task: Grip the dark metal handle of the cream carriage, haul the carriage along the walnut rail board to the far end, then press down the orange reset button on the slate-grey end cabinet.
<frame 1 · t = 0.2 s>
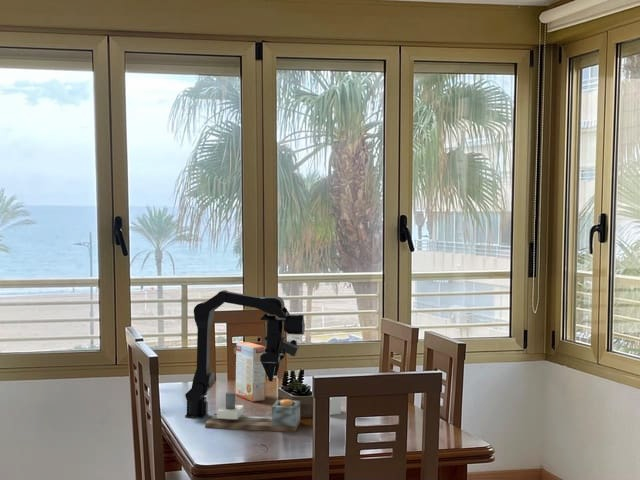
hand: (273, 378, 243), 14 cm above the table, fingers open, 9 cm apart
reset button: (286, 403, 235), point 8 cm above the table, slide at 0.0 cm
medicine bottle: (327, 413, 253), on the table
carriage: (230, 404, 237), point 6 cm above the table, slide at 0.0 cm
cracker box: (250, 398, 274), on the table
rail board: (253, 424, 236), on the table
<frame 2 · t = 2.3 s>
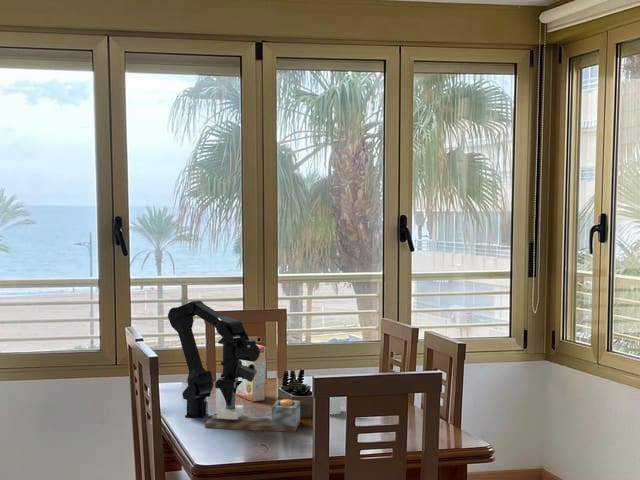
hand: (230, 404, 237), 7 cm above the table, fingers closed on carriage, 3 cm apart
carriage: (230, 404, 237), point 6 cm above the table, slide at 0.0 cm, touching gripper
everything else where it was.
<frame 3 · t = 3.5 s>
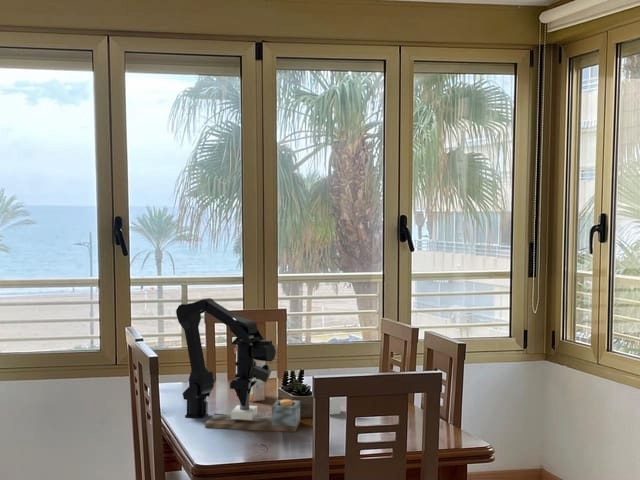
hand: (244, 404, 236), 7 cm above the table, fingers closed on carriage, 3 cm apart
carriage: (244, 404, 236), point 6 cm above the table, slide at 4.9 cm, touching gripper
everything else where it was.
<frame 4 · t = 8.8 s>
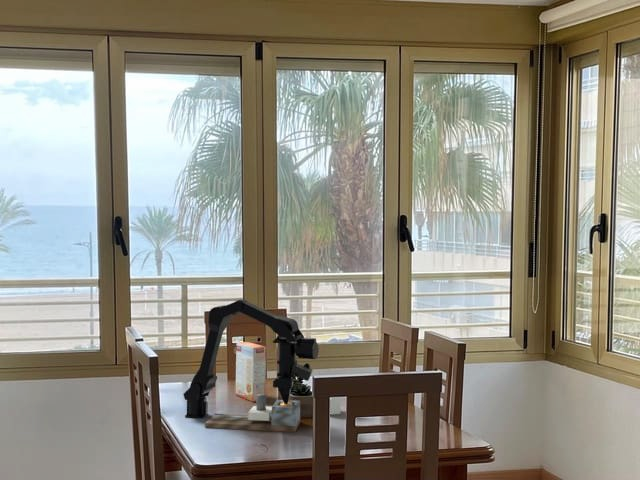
hand: (286, 403, 235), 8 cm above the table, fingers closed, pressing on reset button
reset button: (286, 406, 235), point 7 cm above the table, slide at 0.9 cm, touching gripper
carriage: (261, 405, 236), point 7 cm above the table, slide at 10.5 cm
everything else where it was.
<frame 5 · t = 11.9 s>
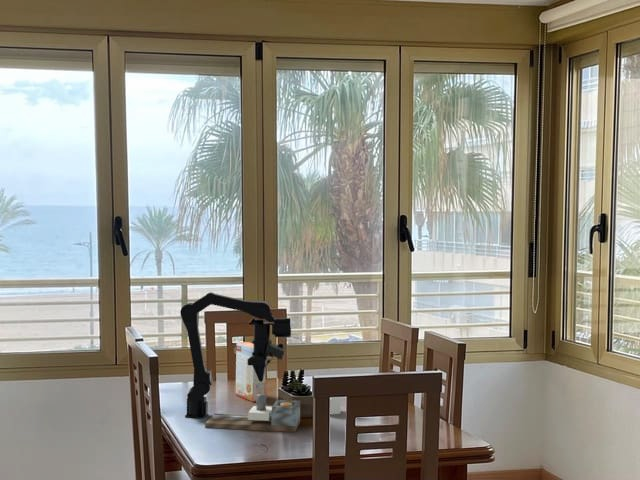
hand: (261, 381, 248), 12 cm above the table, fingers closed
reset button: (286, 406, 235), point 7 cm above the table, slide at 0.9 cm
everything else where it was.
at the end: carriage slide at 10.5 cm; reset button slide at 0.9 cm; the gripper is holding nothing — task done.
